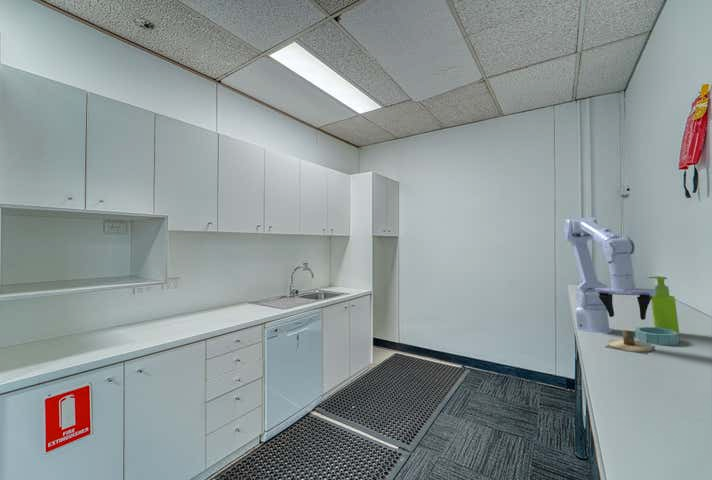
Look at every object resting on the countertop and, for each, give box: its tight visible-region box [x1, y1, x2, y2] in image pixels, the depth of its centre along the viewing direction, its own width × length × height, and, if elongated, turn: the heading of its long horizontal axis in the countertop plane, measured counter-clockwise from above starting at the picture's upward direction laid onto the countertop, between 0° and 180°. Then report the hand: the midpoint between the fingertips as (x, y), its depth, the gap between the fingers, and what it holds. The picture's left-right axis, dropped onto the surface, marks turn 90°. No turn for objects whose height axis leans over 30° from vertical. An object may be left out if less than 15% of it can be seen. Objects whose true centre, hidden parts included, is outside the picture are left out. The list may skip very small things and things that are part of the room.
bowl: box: [634, 326, 680, 346], centre depth 99 cm, size 10×10×4 cm
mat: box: [604, 344, 656, 355], centre depth 96 cm, size 10×10×1 cm
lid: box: [607, 329, 653, 353], centre depth 96 cm, size 10×10×5 cm
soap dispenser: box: [648, 275, 680, 337], centre depth 107 cm, size 6×7×20 cm
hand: (627, 317), depth 96 cm, fingers open, 7 cm apart
